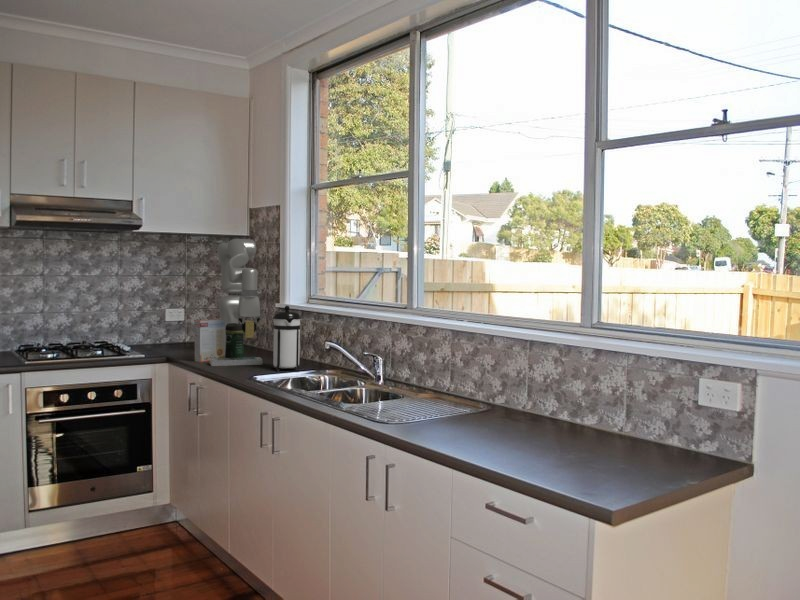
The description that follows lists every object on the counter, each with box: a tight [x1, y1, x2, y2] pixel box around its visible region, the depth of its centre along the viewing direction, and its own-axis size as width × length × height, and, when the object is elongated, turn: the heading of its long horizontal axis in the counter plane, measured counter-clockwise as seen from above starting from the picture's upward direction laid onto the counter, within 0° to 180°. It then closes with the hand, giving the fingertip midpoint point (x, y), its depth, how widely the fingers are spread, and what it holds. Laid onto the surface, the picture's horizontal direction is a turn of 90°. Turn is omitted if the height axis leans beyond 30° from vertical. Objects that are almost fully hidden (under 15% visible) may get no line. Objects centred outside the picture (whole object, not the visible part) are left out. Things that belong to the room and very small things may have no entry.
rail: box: [209, 356, 263, 367], centre depth 349 cm, size 8×24×3 cm, turn 110°
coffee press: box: [271, 305, 302, 371], centre depth 338 cm, size 17×16×30 cm
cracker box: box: [193, 318, 225, 363], centre depth 359 cm, size 14×6×21 cm, turn 135°
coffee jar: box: [225, 323, 245, 358], centre depth 369 cm, size 10×8×19 cm
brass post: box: [243, 320, 255, 339], centre depth 351 cm, size 4×4×8 cm
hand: (249, 331), depth 351 cm, fingers closed on brass post, 4 cm apart
